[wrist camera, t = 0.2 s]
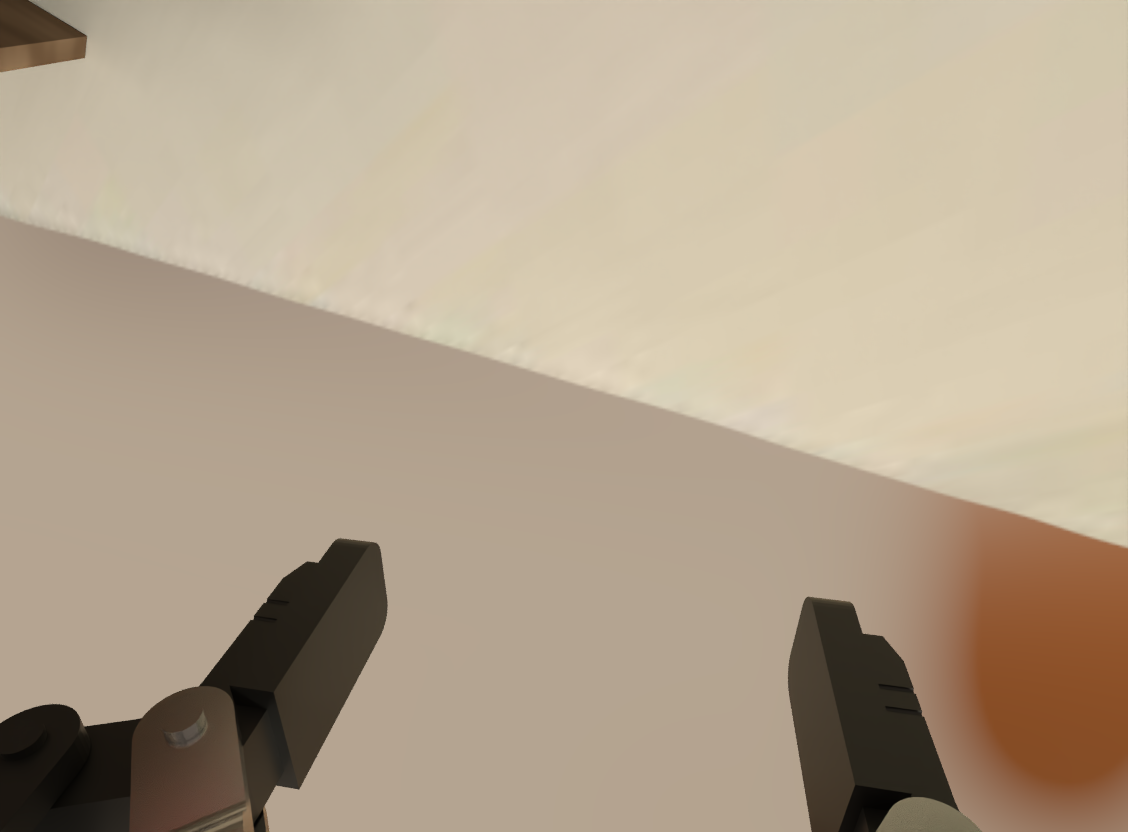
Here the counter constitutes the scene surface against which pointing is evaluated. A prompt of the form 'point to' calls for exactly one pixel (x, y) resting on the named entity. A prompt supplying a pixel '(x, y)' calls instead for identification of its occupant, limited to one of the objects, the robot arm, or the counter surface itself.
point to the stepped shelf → (35, 37)
